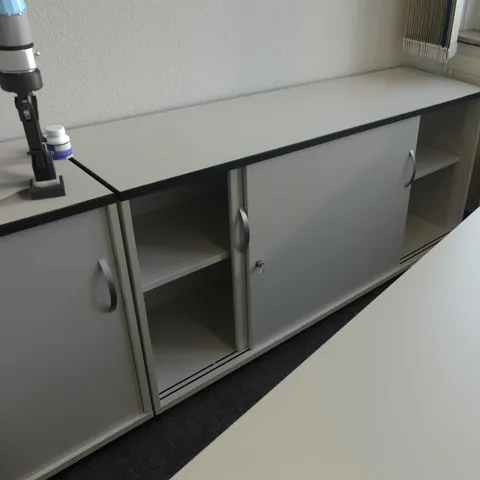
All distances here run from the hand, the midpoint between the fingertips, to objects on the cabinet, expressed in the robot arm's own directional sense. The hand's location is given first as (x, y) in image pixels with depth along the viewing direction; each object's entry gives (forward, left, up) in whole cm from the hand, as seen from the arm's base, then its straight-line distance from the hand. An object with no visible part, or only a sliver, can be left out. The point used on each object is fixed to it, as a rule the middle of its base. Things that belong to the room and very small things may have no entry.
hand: (44, 175), depth 120 cm
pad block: (0, 0, 0) cm, 0 cm away
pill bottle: (-8, +13, -4) cm, 16 cm away
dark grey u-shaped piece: (+1, -1, -3) cm, 3 cm away
